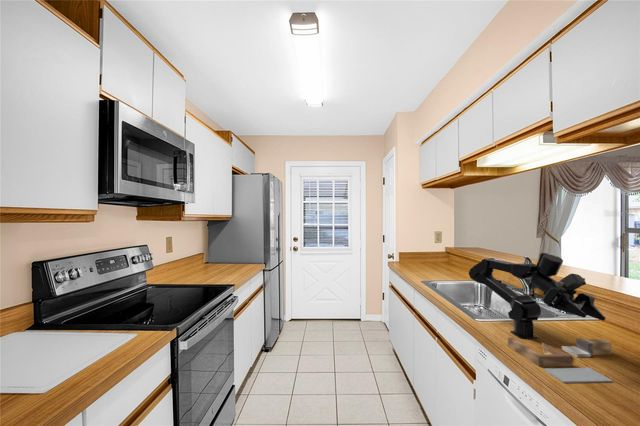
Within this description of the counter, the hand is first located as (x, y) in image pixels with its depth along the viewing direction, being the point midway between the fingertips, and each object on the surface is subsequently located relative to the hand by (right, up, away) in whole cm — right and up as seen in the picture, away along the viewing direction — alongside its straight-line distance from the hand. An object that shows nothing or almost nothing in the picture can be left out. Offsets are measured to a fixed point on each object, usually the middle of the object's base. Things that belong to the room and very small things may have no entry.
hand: (595, 318), depth 91 cm
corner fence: (-12, -15, +8) cm, 21 cm away
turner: (+6, -15, +9) cm, 19 cm away
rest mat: (-10, -15, -5) cm, 19 cm away
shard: (-7, -16, +9) cm, 20 cm away
